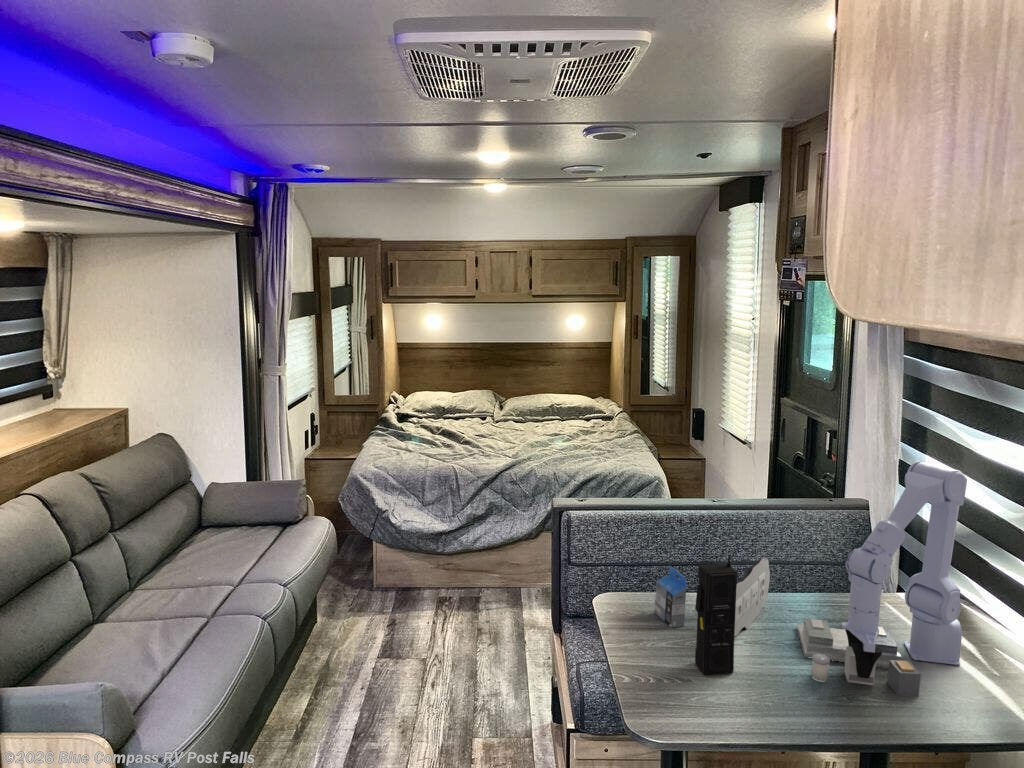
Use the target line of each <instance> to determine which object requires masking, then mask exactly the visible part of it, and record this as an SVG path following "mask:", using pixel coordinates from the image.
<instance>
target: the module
mask: <svg viewBox="0 0 1024 768" xmlns="http://www.w3.org/2000/svg"><path fill="white" fill-rule="evenodd" d="M875 664H876V662H875ZM875 664H874V666H873V669H872V672H871V675H870V677H869V678H868V679H867V678H860V677H858V675H857V671H856V659H855V654H854V651H853V649H852V646H851V647H850V646H846V656H845V663H844V669H843V670H844V672H845V673H844V675H845V678H846V681H847V683H853V684H860V685H866V686H867V685H868V686H875V673H876V667H875Z"/></svg>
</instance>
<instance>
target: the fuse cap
mask: <svg viewBox="0 0 1024 768" xmlns="http://www.w3.org/2000/svg"><path fill="white" fill-rule="evenodd" d="M811 660H812V663H811V675H812V677H814V678H815V679H817V680H821V681H826V680H829V667H830V663H831V661H830V659H829V657H827V656H825V655H823V654H814V655H812V659H811ZM812 677H811V678H812Z"/></svg>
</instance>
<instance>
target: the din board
mask: <svg viewBox="0 0 1024 768" xmlns="http://www.w3.org/2000/svg"><path fill="white" fill-rule="evenodd" d="M878 628H879V634H878V636H877V639H876V641H875V647H877V648H881V650H882V655H881V656H880V657H879V658H878V659H877V661H876V664H875V668H881V667H882V669H889V660H898V661H903V660H902V655H901V654H900V652H898V645H897V643H896V641H895V639H894V638H893V635H892V633H891V631H890V629H889V627H888V626H887V627H885V626H878ZM796 630H797V634H798V637H799V640H800V641H801V642H800V641H799V642H800V645H802V646H801V648H802V649H803V650H802V653H803V652H804V654H803V657H804V656H805V657H812V655H814V654H823V655H825V656H827V657H829V659H830V660H833V661H839V662H838V663H841V662H844V663H843V664H845V656H846V646H849V644H848V638H847V634H846V631H845V629H843V628H836V627H834V628H833V627H830V626H829V623H828V620H827V619H826V620H823V619H817V618H816V619H814V618H807V617H804V618H803V624H801V623H797V625H796ZM833 661H832V662H833Z"/></svg>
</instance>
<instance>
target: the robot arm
mask: <svg viewBox="0 0 1024 768" xmlns="http://www.w3.org/2000/svg"><path fill="white" fill-rule="evenodd" d="M904 475H905V476H904V485H905V488H904V490H903V492H902V494H901V495H900V497H899V499H898V501H897V503H896V504H895V506H894V507H893V508H892V509H893V510H892V512H891V513H890V515H889V517H888V518H887V519H886V520H880V521H879V522H878V523H877V524H876V525H875V527H874V528H873V530H872V531H871V533H870V534H869V535H868V537H867V538H866V539H865V541H864V542H863V544H862V545H861V546H860V547H858V548H855V549H853V550H851V551H850V553H849V554H848V556H847V560H846V561H845V569H846V571H847V573H848V580H849V582H850V592H849V602H848V603H849V604H848V617H847V622H846V621H845V622H843V621H842V622H841V624H840V625H841V629H844V630H845V631H846V634H847V638H848V644H849V646H850V647H851V646H852V649H853V651H854V654H855V659H856V671H857V675H858V677H860V678H867V679H868V678H869V677H870V675H871V672H872V669H873V666H874V664H875V662H876V661H877V659H878V658H879V657H880V656H881V655H882V650H881V648H877V647H875V641H876V639H877V636H878V634H879V628H878V627H879V622H880V621H879V620H880V611H881V610H880V609H881V597H882V587H883V585H882V584H883V583H884V582H885V580H886V579H887V578H888V577H889V575H890V573H891V566H892V564H893V561H894V560H893V557H894V555H896V552H897V551H898V549H899V548H900V547H901V545H902V544H903V543H904V541H905V539H906V533H905V529H906V528H907V526H909V524H910V523H911V522H912V521H913V519H914V518H915V517H916V515H918V514H919V512H920V511H921V510H922V508H924V506H925V505H926V504H930V513H929V519H928V526H927V527H928V528H927V534H926V541H925V548H924V554H923V562H922V569H921V572H918V573H915V574H913V575H912V576H910V577H909V583H908V586H907V587H906V590H905V593H904V600H905V604H906V606H907V607H909V612H910V613H911V614H912V616H911V618H912V619H911V626H910V627H911V629H910V639H909V640H905V641H903V644H904V646H905V648H906V649H907V651H908V654H909V655H910V657H911V659H912V660H915V661H921V662H930V663H937V664H945V665H952V666H960V665H961V662H960V660H961V659H960V657H961V648H962V640H963V635H962V634H963V631H962V626H961V623H960V620H958V618H959V616H960V614H961V610H962V602H961V589H960V588H959V587H958V585H957V584H956V583H955V582H954V581H953V580H952V578H951V577H950V569H951V563H952V557H953V551H954V544H955V538H956V531H957V524H958V517H959V511H960V507H962V506H964V504H965V503H964V502H965V497H966V490H967V485H968V484H967V483H968V479H967V477H966V476H965V474H964V473H963V472H962V471H961V470H959V469H952V468H948V467H944V466H940V465H936V464H931V463H927V462H924V461H922V460H916V461H914V462H913V463H912V464H910V466H909V467H908V470H907V472H906V473H905V474H904Z"/></svg>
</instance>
